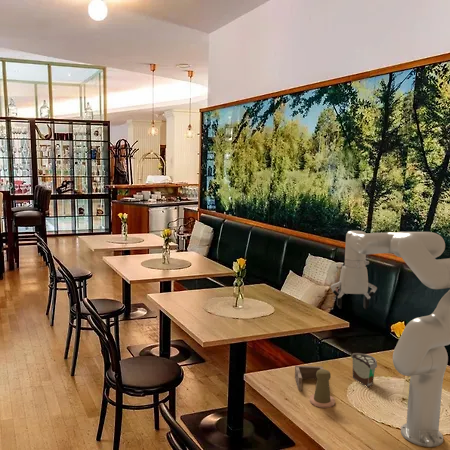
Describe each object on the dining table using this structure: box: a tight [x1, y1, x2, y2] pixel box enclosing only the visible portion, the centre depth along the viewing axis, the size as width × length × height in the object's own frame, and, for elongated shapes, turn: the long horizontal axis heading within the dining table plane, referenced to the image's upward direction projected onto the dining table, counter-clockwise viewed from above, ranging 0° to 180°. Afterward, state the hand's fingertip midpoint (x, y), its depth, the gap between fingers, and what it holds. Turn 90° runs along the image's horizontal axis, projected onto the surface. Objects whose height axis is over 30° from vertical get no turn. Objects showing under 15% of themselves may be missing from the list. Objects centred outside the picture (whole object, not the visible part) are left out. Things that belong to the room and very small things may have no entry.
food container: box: [351, 352, 378, 388], centre depth 191 cm, size 12×6×10 cm, turn 22°
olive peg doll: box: [313, 368, 332, 403], centre depth 173 cm, size 6×6×11 cm
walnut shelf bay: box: [294, 365, 324, 391], centre depth 188 cm, size 11×11×5 cm
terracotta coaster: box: [309, 393, 336, 409], centre depth 174 cm, size 9×9×1 cm
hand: (352, 307), depth 181 cm, fingers open, 9 cm apart
